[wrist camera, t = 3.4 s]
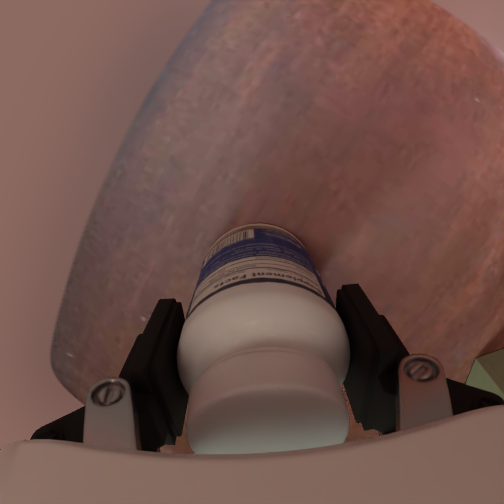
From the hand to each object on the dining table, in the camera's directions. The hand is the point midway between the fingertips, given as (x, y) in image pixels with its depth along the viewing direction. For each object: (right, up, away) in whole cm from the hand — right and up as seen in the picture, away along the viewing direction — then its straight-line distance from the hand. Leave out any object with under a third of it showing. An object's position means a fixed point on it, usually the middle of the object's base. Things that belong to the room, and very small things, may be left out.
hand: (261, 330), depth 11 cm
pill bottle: (0, +2, +5) cm, 5 cm away
